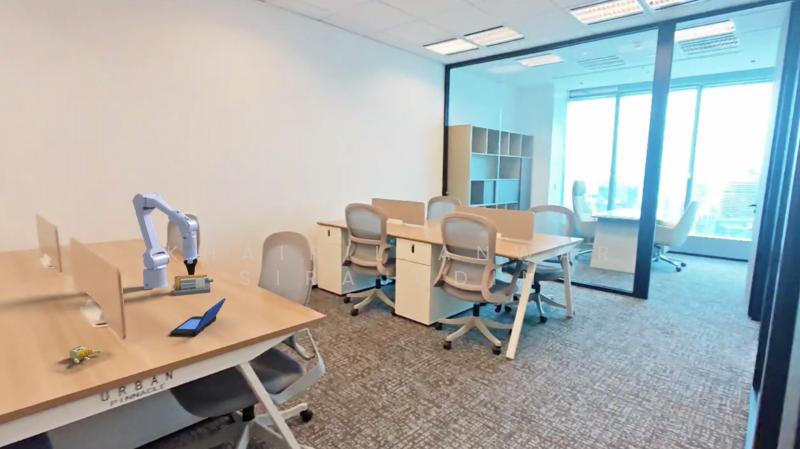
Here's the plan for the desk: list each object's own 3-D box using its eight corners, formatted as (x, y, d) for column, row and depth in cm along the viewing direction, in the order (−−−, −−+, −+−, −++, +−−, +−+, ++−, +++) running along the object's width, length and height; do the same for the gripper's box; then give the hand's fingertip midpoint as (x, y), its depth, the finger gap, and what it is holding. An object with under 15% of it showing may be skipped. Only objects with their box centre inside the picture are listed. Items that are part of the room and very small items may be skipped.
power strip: (173, 296, 179) (173, 292, 179) (175, 291, 187) (174, 286, 187) (210, 293, 185) (210, 288, 185) (210, 287, 193) (209, 283, 193)
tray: (176, 289, 190) (176, 285, 190) (177, 284, 197) (177, 280, 197) (209, 285, 196) (209, 281, 196) (209, 281, 203) (209, 277, 203)
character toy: (77, 356, 116) (59, 351, 119) (78, 367, 117) (60, 362, 119) (106, 345, 124) (88, 341, 126) (107, 355, 124) (89, 350, 127)
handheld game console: (192, 319, 154) (191, 296, 153) (227, 320, 154) (226, 297, 153) (168, 336, 139) (166, 310, 138) (207, 338, 139) (206, 311, 137)
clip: (174, 290, 182) (174, 277, 181) (175, 288, 184) (174, 276, 183) (207, 286, 187) (207, 274, 187) (207, 285, 190) (207, 273, 189)
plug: (196, 291, 185) (195, 278, 184) (196, 289, 188) (195, 276, 187) (214, 289, 188) (213, 277, 187) (213, 287, 191) (213, 275, 191)
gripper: (199, 248, 180) (201, 278, 182) (199, 242, 193) (201, 270, 195) (181, 249, 177) (183, 280, 179) (182, 243, 190) (184, 272, 192)
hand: (191, 275), depth 187 cm, fingers closed
